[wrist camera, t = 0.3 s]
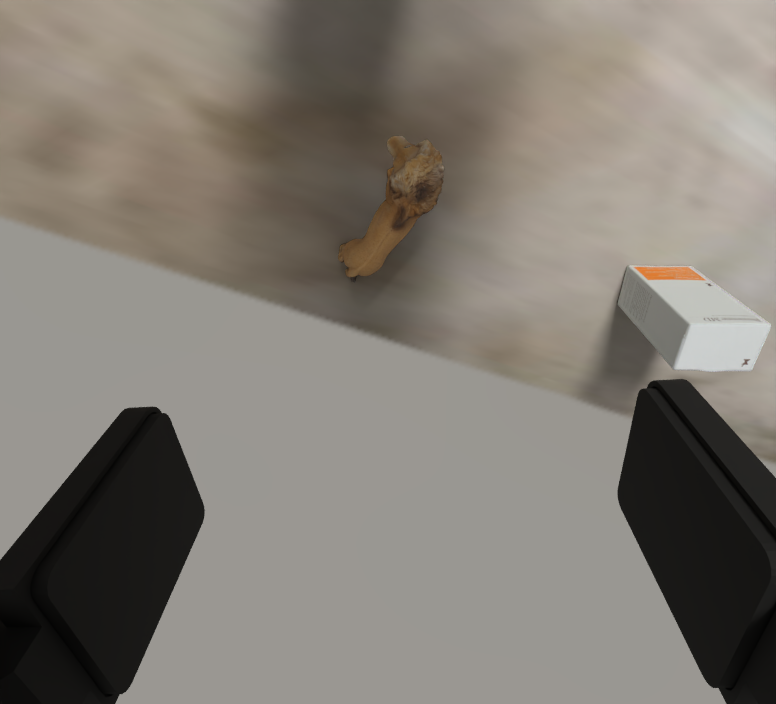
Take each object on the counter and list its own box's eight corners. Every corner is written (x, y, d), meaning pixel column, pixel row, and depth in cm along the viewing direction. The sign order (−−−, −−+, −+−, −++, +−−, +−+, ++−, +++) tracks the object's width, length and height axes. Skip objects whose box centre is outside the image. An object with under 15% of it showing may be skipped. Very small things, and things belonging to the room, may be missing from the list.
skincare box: (691, 263, 45) (776, 324, 35) (677, 305, 47) (753, 373, 37) (625, 263, 45) (690, 323, 35) (614, 304, 47) (672, 373, 37)
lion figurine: (396, 114, 39) (394, 127, 32) (454, 144, 40) (466, 165, 33) (329, 268, 46) (314, 310, 39) (379, 291, 47) (375, 336, 40)
